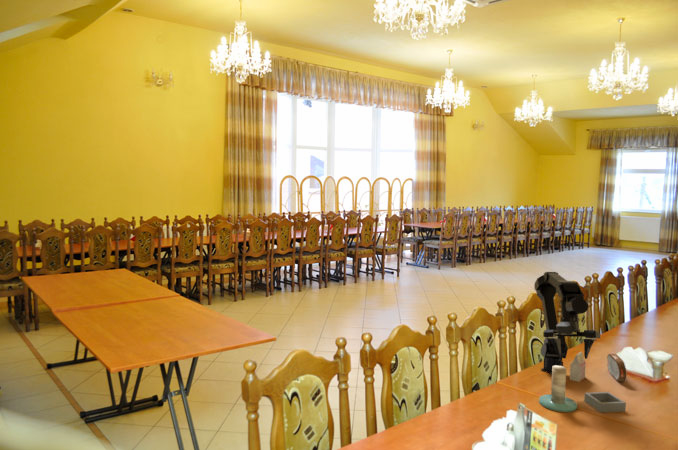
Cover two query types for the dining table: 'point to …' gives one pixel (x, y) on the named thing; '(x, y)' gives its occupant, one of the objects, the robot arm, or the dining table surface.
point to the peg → (558, 384)
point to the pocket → (599, 402)
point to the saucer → (566, 407)
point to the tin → (616, 367)
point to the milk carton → (578, 368)
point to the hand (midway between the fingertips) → (572, 358)
